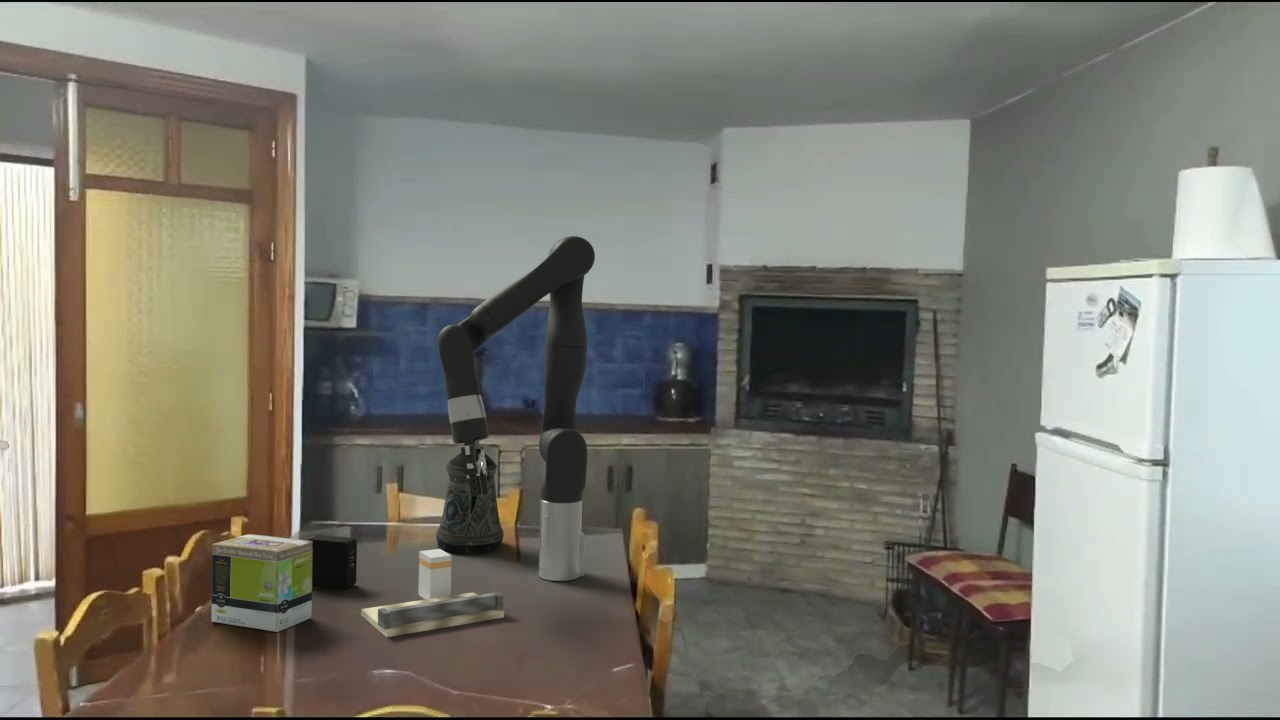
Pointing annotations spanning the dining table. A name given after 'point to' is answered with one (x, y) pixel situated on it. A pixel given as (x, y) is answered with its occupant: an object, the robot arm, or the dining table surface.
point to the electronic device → (333, 562)
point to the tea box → (262, 582)
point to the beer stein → (469, 514)
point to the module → (434, 574)
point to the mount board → (428, 624)
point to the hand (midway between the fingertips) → (480, 495)
